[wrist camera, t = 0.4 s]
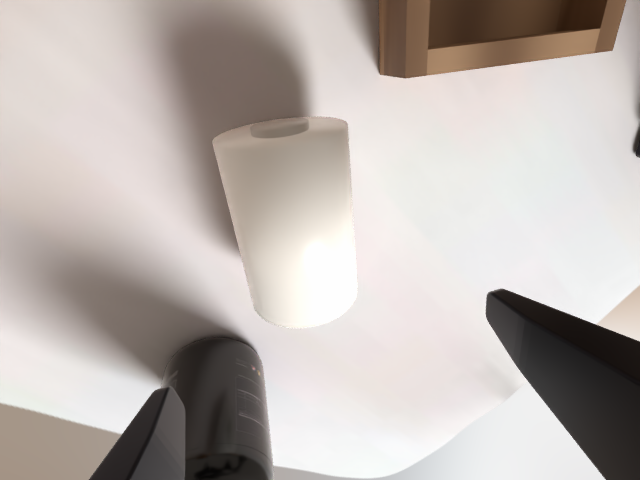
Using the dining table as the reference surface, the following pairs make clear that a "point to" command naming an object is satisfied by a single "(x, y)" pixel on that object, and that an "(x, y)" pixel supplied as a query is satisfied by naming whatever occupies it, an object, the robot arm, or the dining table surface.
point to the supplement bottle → (222, 410)
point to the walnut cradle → (490, 33)
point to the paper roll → (292, 216)
